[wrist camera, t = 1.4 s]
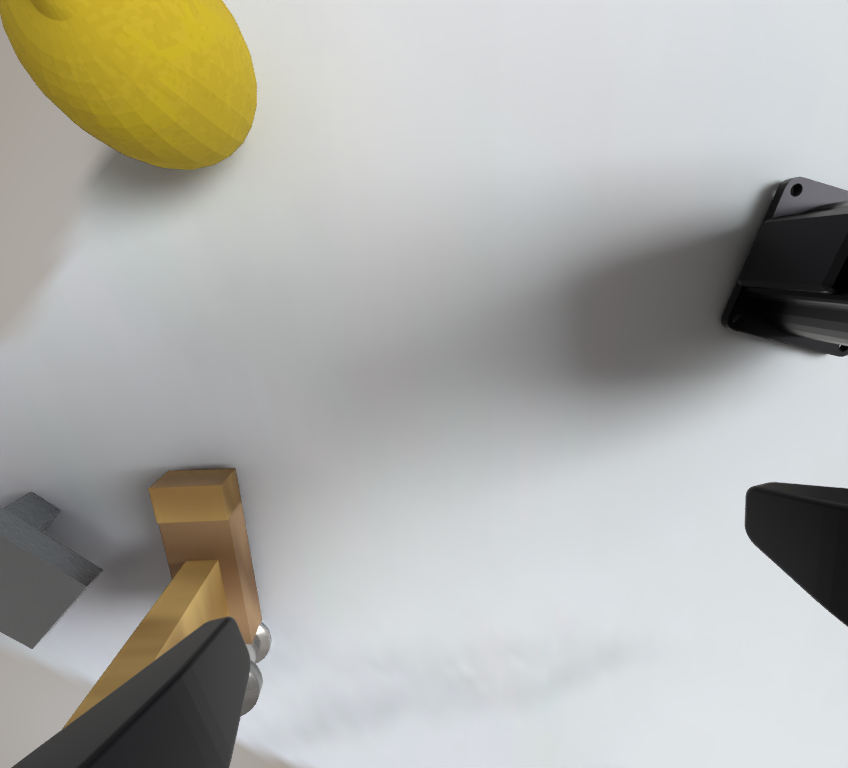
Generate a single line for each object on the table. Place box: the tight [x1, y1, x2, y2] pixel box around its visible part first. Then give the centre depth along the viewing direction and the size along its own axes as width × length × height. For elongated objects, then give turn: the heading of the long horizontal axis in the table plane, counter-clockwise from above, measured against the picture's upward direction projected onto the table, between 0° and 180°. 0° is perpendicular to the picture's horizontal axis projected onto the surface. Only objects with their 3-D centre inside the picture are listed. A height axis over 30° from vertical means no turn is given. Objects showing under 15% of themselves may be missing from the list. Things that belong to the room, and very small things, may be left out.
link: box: [63, 468, 262, 729], centre depth 17 cm, size 9×3×10 cm, turn 2°
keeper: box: [0, 492, 103, 649], centre depth 19 cm, size 5×5×4 cm
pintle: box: [241, 622, 271, 716], centre depth 22 cm, size 4×4×3 cm
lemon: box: [0, 0, 257, 170], centre depth 12 cm, size 6×6×8 cm
